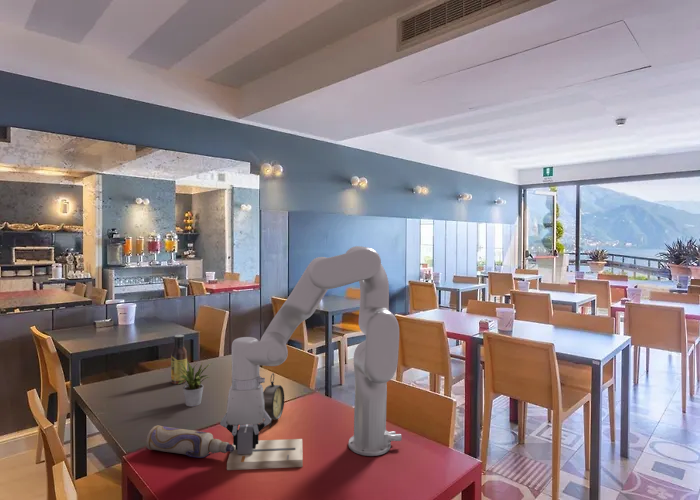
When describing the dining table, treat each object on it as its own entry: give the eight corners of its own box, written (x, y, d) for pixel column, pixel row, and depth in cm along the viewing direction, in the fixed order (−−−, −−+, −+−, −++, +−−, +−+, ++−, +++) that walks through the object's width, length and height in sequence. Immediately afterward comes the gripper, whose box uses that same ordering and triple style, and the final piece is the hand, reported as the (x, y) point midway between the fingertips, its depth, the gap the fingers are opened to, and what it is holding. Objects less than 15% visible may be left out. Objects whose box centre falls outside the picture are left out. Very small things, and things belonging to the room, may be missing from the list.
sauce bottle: (171, 380, 185) (171, 333, 184) (187, 379, 187) (187, 333, 186) (170, 385, 179) (170, 337, 178) (186, 384, 180) (186, 336, 180)
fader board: (302, 445, 130) (302, 438, 130) (302, 466, 118) (302, 459, 118) (233, 448, 128) (233, 441, 128) (226, 470, 116) (226, 462, 116)
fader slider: (254, 444, 125) (254, 424, 125) (252, 453, 120) (252, 431, 120) (239, 445, 124) (240, 424, 124) (237, 454, 119) (237, 432, 119)
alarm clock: (273, 428, 141) (274, 379, 140) (257, 427, 142) (258, 377, 141) (285, 415, 151) (285, 369, 151) (270, 413, 153) (271, 367, 152)
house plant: (160, 408, 155) (160, 363, 154) (183, 395, 168) (183, 353, 168) (195, 413, 152) (195, 367, 151) (216, 399, 165) (217, 356, 164)
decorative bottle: (143, 455, 123) (143, 431, 123) (160, 442, 130) (161, 420, 130) (226, 467, 117) (226, 442, 117) (240, 453, 124) (240, 430, 124)
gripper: (276, 377, 126) (276, 439, 127) (217, 379, 124) (217, 442, 125) (275, 386, 119) (275, 452, 119) (212, 388, 117) (212, 455, 117)
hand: (246, 446), depth 122 cm, fingers closed on fader slider, 4 cm apart
